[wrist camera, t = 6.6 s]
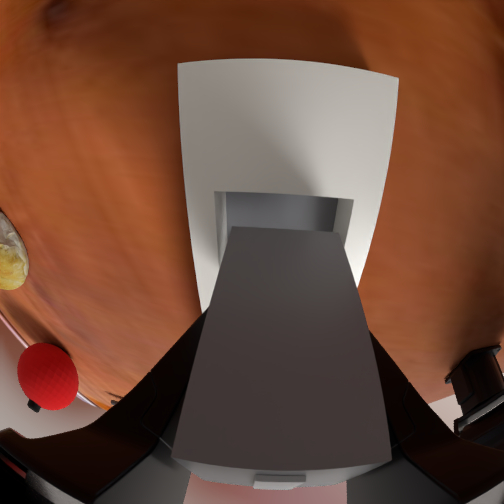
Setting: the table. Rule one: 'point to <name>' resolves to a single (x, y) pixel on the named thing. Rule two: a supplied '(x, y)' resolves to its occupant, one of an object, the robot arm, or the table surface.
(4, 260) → the bread roll
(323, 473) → the grey rectangular block
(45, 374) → the ornament
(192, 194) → the power strip
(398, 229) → the table surface
